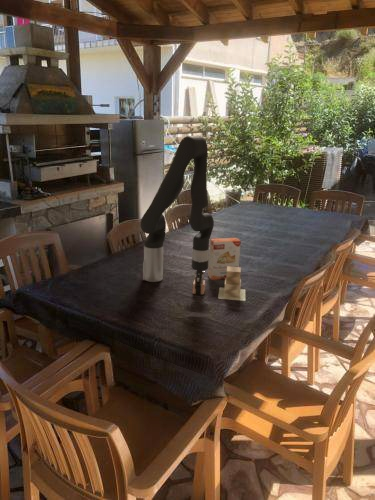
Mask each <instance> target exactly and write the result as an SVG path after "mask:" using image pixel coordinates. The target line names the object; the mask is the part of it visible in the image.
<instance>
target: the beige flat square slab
mask: <svg viewBox="0 0 375 500" xmlns="http://www.w3.org/2000/svg"><path fill="white" fill-rule="evenodd" d="M224 288H225V287H219V289H218V297H217V299H219V300H220V299H221V300H232V301H241V302H242V301H244V302H246V289H243V288H240V298H236V297H224Z"/></svg>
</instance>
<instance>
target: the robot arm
mask: <svg viewBox="0 0 375 500" xmlns="http://www.w3.org/2000/svg"><path fill="white" fill-rule="evenodd" d="M192 159H193V167H194V168H193V169H194V170H193V174H192V180H191V183H190V199H191V208H190V215H189V225H190V227H191V229H192V230H193V231H194V232H198V233H197V234H195V235H194V236H193V238H192V239H193V240H192V251H191V269H193V270H195V272H194V280H195V289H196V294H195V295H196V296H200V295H202V294H201V284H202V283H203V280H204V278H205V277H204V276H205V271H208V269H209V253H210V239H211V236H212V233H213V229H214V225H215V222H214V221H215V220H214V216H213V215H212V214H210V213H209V212H206V213H205V212H204V213H203V211H204V209H206V208H208V206H209V198H208V189H207V188H208V187H207V174H208V173H207V170H208V169H207V168H208V167H207V165H208V143H207V141H206V139H205V138H204V137H203V136H201V135H187V136H185V137H183V138H182V139H181V140H180V142H179V144H178V146H177V149H176V151H175V154H174V157H173V159H172V162H171V164H170V166H169V167H168V170H167V172H166V174H165V176H164V178H163V179H162V181H161V183H160V184H159V185H160V186H159V188H158V190H157V191H156V193H155V196H154V197H153V199H152V201H151V203H150V204H149V206H148V208H147V210H146V211H145V212H144V214H143V216H142V218H141V219H140V223H139V224H140V229H141V231H142V232H143V233H145V234H146V235H147V234H148V235H147V236H146V237H145V238H144V240H143V261H142V281H147V282H150V283H157V282H161V281H162V280H163V279H164V278H163V277H164V242H165V240H166V231H167V230H166V229H167V228H166V225H167V223H166V218H165V215H164V214H163V213H165V211H167V209H168V208H170V207H171V205H172V204H173V203H174V202H175V201H177V199H178V197H179V196H180V194H181V191H182V190H183V187H184V185H185V172H186V169H187V168H188V166H189V164H190V163H191V161H192ZM197 285H200V286H197Z"/></svg>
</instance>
